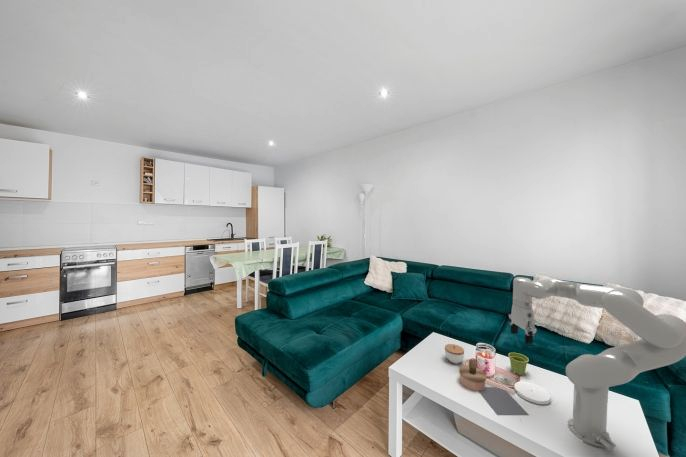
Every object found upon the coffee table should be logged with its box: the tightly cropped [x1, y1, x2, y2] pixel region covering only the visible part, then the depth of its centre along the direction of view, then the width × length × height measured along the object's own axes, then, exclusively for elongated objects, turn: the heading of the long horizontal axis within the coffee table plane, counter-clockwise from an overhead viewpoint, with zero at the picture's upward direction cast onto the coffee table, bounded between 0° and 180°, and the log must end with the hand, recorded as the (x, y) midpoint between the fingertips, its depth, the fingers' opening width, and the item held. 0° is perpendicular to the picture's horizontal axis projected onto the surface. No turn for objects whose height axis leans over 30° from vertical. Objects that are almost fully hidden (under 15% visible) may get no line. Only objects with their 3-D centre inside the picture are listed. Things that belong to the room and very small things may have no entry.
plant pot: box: [507, 352, 530, 376], centre depth 139 cm, size 9×9×9 cm
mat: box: [478, 386, 530, 416], centre depth 117 cm, size 18×14×1 cm
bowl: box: [459, 373, 486, 392], centre depth 129 cm, size 11×11×5 cm
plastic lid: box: [513, 381, 552, 405], centre depth 121 cm, size 14×14×2 cm
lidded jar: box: [444, 343, 465, 365], centre depth 150 cm, size 11×11×9 cm
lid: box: [459, 358, 487, 383], centre depth 129 cm, size 12×12×7 cm
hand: (521, 338), depth 120 cm, fingers open, 9 cm apart
